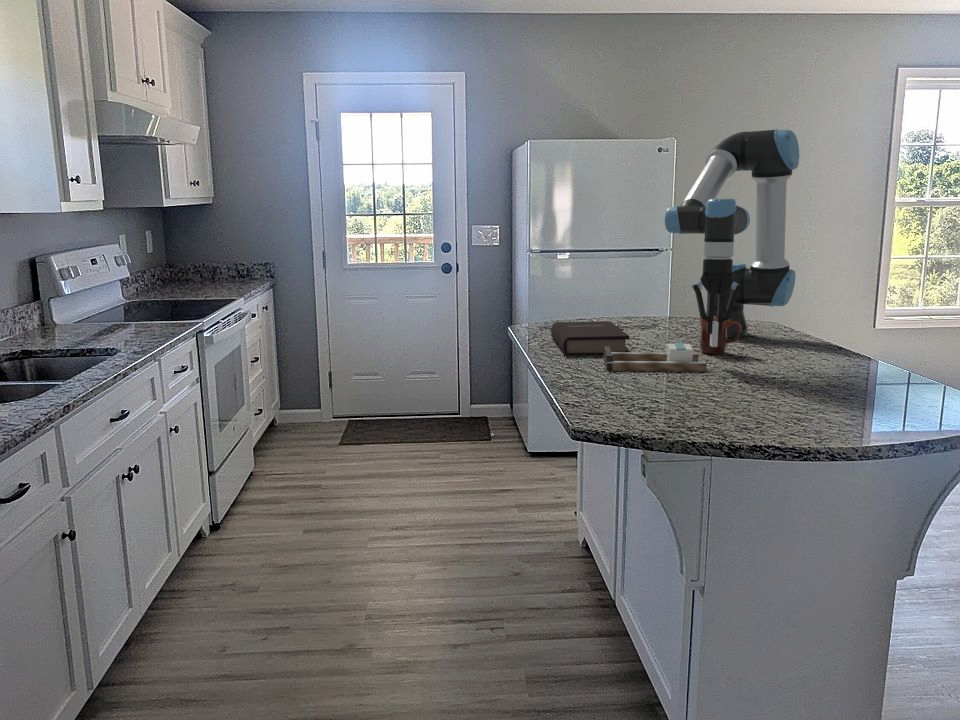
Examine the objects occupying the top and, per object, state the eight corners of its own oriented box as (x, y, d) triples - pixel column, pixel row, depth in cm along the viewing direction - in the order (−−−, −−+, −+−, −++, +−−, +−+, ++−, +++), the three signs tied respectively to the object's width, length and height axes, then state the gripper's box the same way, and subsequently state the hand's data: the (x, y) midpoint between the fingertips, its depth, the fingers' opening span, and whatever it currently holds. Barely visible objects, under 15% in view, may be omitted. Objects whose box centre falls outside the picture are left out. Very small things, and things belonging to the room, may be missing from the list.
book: (550, 340, 258) (551, 322, 257) (609, 339, 259) (610, 321, 258) (563, 357, 231) (563, 337, 229) (628, 355, 231) (629, 335, 230)
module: (688, 363, 218) (689, 343, 217) (692, 369, 211) (692, 348, 209) (666, 363, 219) (667, 342, 218) (669, 369, 212) (669, 348, 210)
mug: (694, 354, 230) (696, 319, 228) (700, 349, 238) (701, 315, 235) (737, 357, 225) (739, 321, 223) (741, 351, 233) (743, 317, 231)
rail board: (697, 360, 221) (697, 346, 220) (706, 371, 208) (706, 356, 207) (603, 360, 223) (603, 346, 223) (606, 370, 210) (607, 355, 209)
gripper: (740, 257, 211) (735, 343, 216) (690, 257, 212) (686, 343, 217) (746, 259, 204) (741, 348, 208) (695, 258, 205) (691, 348, 210)
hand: (713, 345), depth 213 cm, fingers closed
